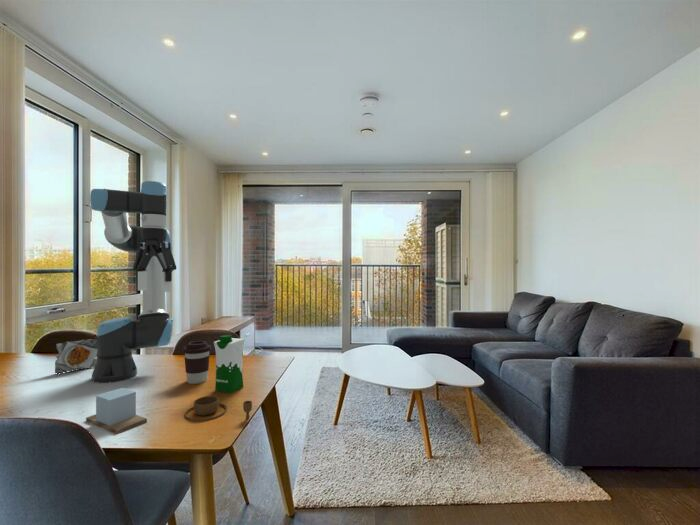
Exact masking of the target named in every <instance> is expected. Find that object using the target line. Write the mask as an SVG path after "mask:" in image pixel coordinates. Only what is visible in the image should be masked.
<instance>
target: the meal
mask: <svg viewBox="0 0 700 525" xmlns="http://www.w3.org/2000/svg"><path fill="white" fill-rule="evenodd" d="M55 346H56V349H57V351H58V353H57V354H56V355H55V356H54V357H56V360H55V361H54V374H55V373H57V374H59V373H63V372H67V371H72V370H76V369H81V368H85V369H86V368H90V369H91V368H95V365H96V362H97V358H96V357H97V338H92V339H91V338H90V339H82V340H75V341H72V340H70V341H65V342H60V343H56V344H55ZM81 370H82V369H81ZM76 371H77V370H76ZM72 372H73V371H72ZM63 374H64V373H63Z"/></svg>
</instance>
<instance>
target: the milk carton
mask: <svg viewBox="0 0 700 525" xmlns="http://www.w3.org/2000/svg"><path fill="white" fill-rule="evenodd" d="M244 344H245V338H237V337H232V335H231V334H222V335H220V336H219V340H216V341H213V345H214V351H215V383H214V384H215V387H214V388H215V390H214V391H215V392H221V393H226V394H232V393H234V392H236V391H238V390H240V389H242V388H244V377H243V350H244Z"/></svg>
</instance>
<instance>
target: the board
mask: <svg viewBox="0 0 700 525" xmlns="http://www.w3.org/2000/svg"><path fill="white" fill-rule="evenodd" d="M147 420H148V419H147V418H146V417H143V416H141V415H138V414H136V416H134V417H132V418H129V419H127V420H124V421H121V422H119V423H116V424H113V425H111V426H108V425H106V424H104V423H101V422H99V421H97V420H96V413H95V414H93V415H89V416H86V418H85V422H87V423H90V424H91V425H93V426H94V425H95V426H97V427H99V428H102V429H103V430H106V431H109V432H111V433H113V434H115V435H118V434H120V433H123V432H125V431H128V430H131V429H133V428H136V427H138V426H141V425H143V424H144V425H145V424H146V423H147V422H148V421H147Z"/></svg>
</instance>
